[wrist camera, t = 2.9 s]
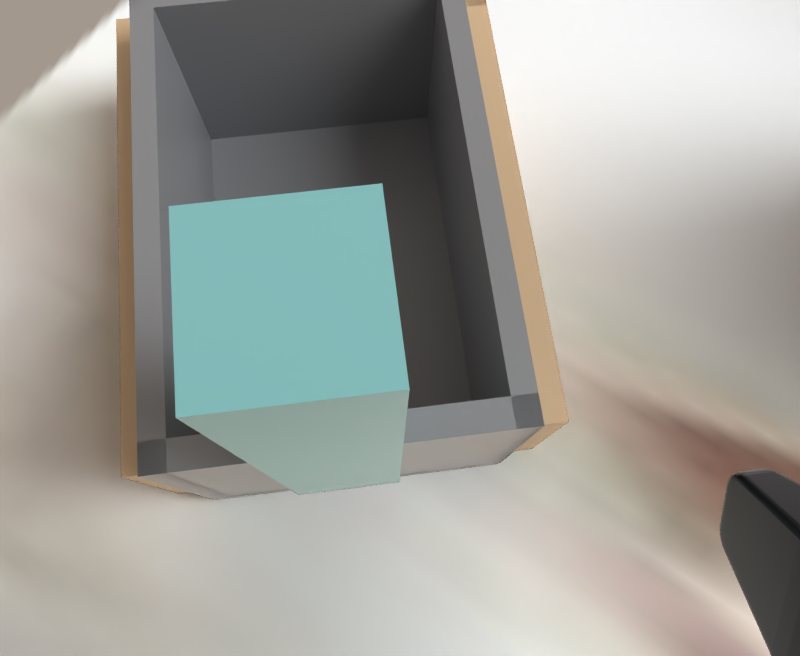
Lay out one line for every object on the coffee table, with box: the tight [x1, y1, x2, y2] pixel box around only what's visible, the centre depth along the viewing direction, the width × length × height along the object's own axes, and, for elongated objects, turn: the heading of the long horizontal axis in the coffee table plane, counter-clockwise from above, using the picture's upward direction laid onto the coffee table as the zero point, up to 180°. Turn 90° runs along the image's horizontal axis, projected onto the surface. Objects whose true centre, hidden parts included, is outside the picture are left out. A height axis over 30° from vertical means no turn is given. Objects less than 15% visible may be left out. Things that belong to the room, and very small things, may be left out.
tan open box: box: [116, 0, 569, 493], centre depth 18 cm, size 11×9×4 cm
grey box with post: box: [129, 0, 545, 500], centre depth 13 cm, size 11×7×13 cm, turn 7°
